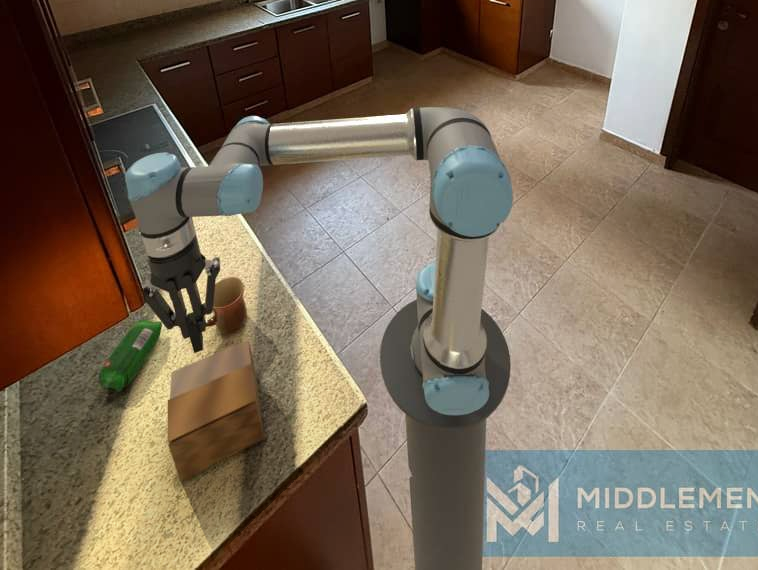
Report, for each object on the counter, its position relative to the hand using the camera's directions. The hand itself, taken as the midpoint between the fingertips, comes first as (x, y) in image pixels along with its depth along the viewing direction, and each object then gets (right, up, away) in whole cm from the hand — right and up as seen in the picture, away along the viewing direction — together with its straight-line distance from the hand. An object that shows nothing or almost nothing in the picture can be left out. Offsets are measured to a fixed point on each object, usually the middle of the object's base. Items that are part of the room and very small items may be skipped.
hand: (198, 344), depth 78 cm
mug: (-7, -16, +29) cm, 34 cm away
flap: (+1, -12, +2) cm, 13 cm away
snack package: (-25, -19, +22) cm, 39 cm away
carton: (+1, -22, +9) cm, 24 cm away
